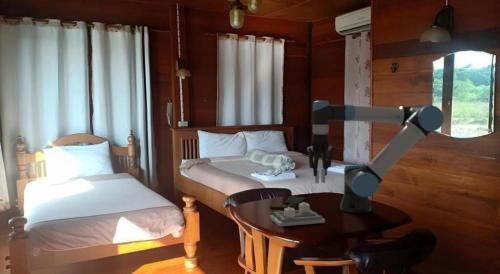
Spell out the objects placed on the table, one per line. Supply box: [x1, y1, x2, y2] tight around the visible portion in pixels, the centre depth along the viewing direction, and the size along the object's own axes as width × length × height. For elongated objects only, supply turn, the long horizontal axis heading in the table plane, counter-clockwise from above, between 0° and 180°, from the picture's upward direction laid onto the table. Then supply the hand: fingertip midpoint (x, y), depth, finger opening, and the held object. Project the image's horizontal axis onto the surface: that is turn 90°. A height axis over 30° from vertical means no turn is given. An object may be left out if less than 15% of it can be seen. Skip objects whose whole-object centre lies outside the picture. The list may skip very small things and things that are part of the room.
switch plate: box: [269, 208, 326, 227], centre depth 188 cm, size 22×13×3 cm, turn 105°
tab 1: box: [283, 207, 296, 219], centre depth 183 cm, size 4×3×6 cm
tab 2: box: [298, 201, 311, 213], centre depth 192 cm, size 4×3×6 cm
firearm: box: [269, 196, 307, 210], centre depth 219 cm, size 28×2×15 cm
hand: (320, 182), depth 194 cm, fingers open, 3 cm apart
